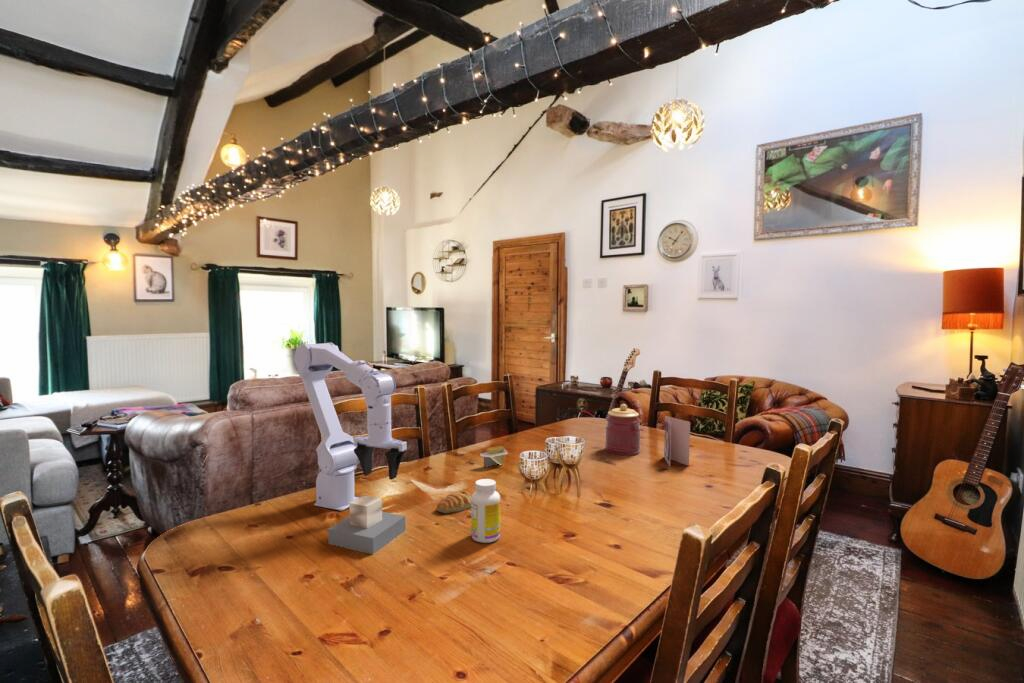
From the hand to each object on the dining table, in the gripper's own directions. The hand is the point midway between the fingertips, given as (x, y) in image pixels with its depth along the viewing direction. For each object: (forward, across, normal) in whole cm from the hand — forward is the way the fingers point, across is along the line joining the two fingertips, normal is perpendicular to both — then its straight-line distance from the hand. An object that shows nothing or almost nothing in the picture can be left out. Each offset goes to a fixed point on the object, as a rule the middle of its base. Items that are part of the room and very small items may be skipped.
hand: (380, 476), depth 120 cm
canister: (+11, -48, -82) cm, 96 cm away
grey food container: (+11, -11, -47) cm, 50 cm away
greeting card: (+11, -67, -75) cm, 101 cm away
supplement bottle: (+11, -29, 0) cm, 31 cm away
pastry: (+11, -15, -12) cm, 22 cm away
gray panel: (+11, -4, +10) cm, 15 cm away
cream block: (+7, -4, +10) cm, 13 cm away
